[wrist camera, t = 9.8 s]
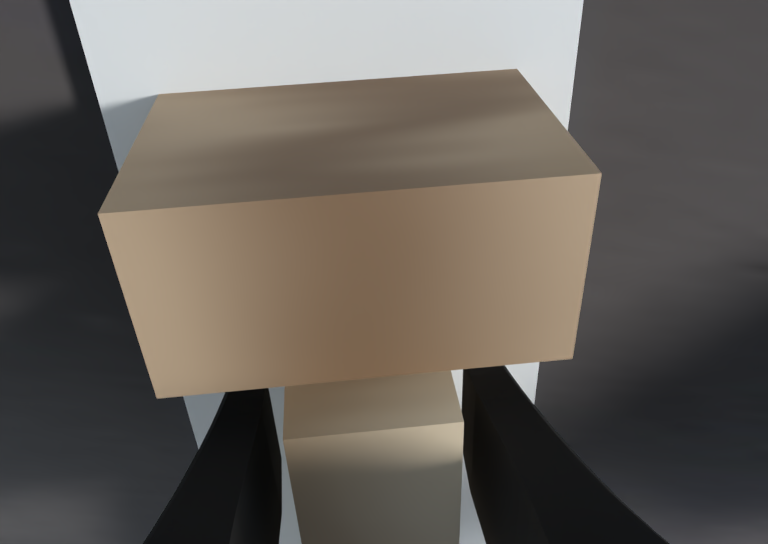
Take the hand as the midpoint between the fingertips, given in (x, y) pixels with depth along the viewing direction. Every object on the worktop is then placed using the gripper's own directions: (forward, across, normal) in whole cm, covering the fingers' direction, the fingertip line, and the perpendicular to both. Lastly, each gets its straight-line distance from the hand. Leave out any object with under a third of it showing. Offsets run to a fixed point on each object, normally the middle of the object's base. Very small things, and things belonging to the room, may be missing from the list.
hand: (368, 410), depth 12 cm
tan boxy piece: (+2, 0, +2) cm, 3 cm away
